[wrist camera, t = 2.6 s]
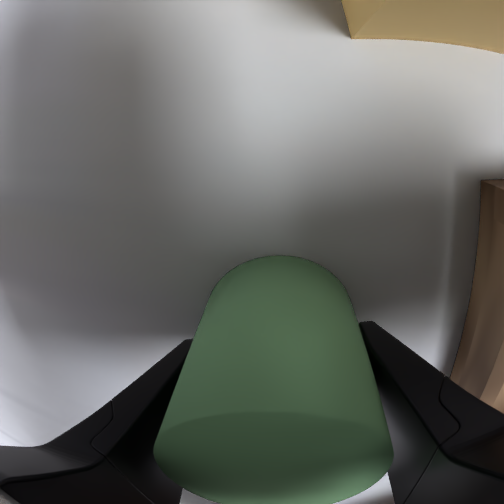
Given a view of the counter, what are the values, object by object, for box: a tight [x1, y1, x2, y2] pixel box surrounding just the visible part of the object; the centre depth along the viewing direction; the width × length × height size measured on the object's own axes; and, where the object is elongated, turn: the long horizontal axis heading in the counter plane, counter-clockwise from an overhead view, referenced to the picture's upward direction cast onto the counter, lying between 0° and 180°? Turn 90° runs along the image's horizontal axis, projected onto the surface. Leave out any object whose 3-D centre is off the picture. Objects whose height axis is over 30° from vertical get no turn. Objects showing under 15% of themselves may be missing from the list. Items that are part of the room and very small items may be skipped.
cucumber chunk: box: [153, 256, 394, 504], centre depth 7 cm, size 5×5×6 cm
